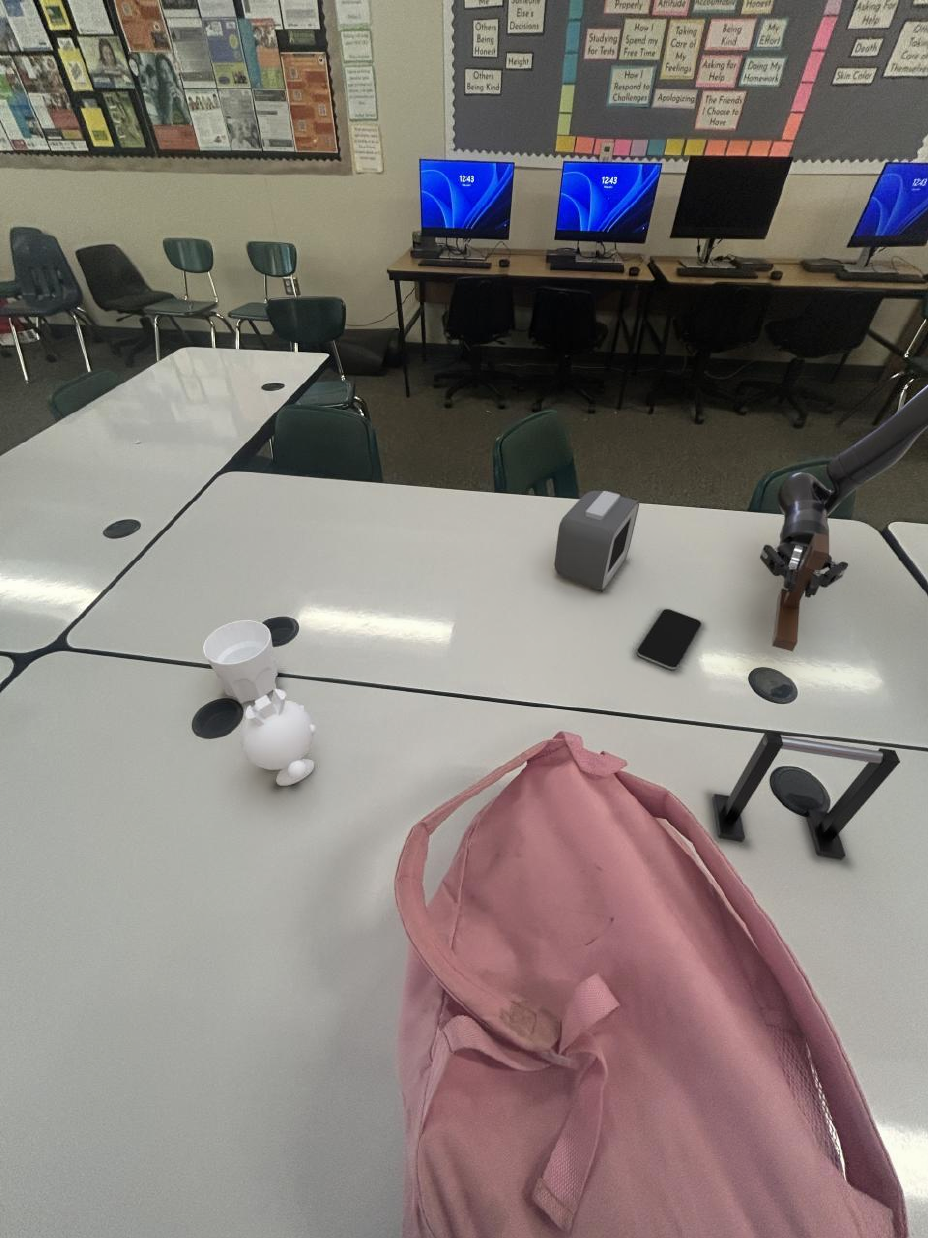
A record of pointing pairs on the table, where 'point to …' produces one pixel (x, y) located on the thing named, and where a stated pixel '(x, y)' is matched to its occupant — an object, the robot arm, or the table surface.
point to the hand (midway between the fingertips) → (800, 590)
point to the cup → (242, 659)
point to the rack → (820, 823)
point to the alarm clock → (595, 538)
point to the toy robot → (278, 737)
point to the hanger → (798, 594)
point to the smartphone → (669, 639)
